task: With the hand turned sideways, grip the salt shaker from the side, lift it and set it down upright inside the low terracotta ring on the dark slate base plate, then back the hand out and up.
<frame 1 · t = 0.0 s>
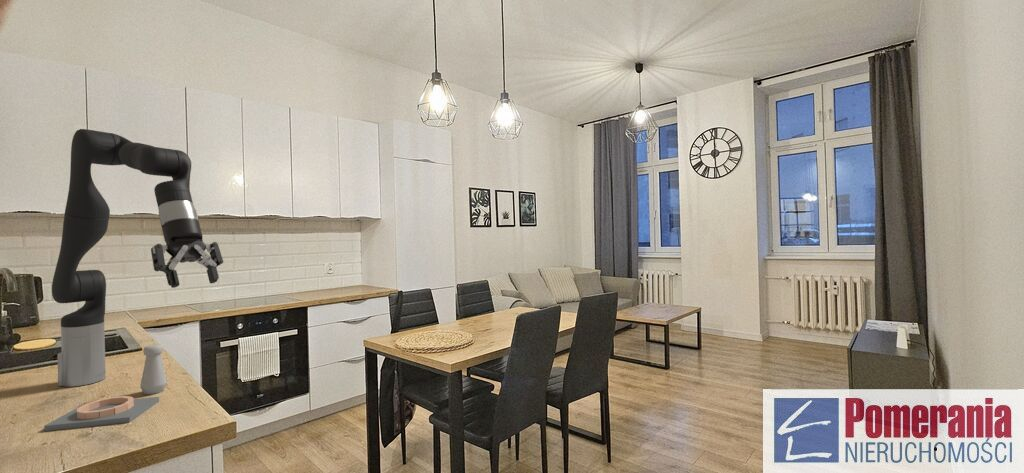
hand: (195, 284, 105), 31 cm above the table, tool tilted 20°, fingers open, 8 cm apart
salt shaker: (154, 392, 121), on the table
holder: (106, 415, 106), on the table
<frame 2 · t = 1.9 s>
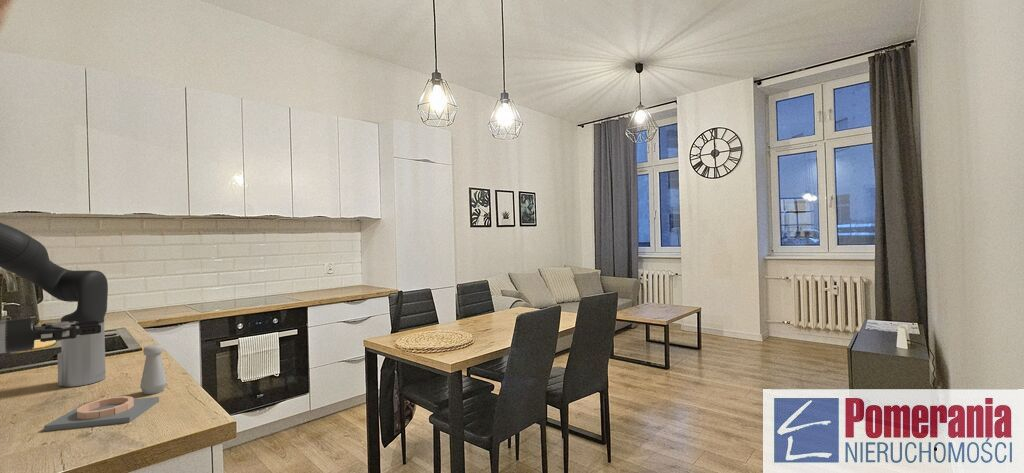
hand: (99, 326, 113), 20 cm above the table, tool horizontal, fingers open, 8 cm apart
nothing on the table moved.
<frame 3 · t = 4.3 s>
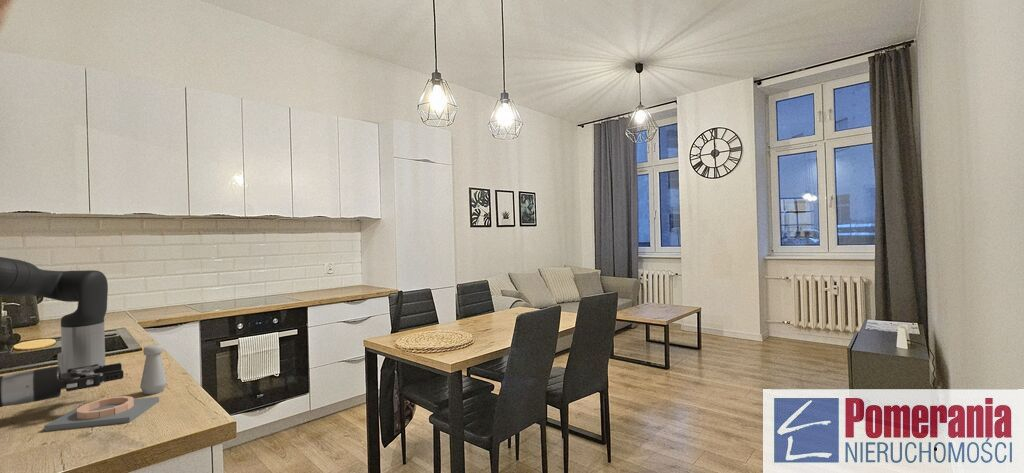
hand: (122, 370, 116), 8 cm above the table, tool horizontal, fingers open, 8 cm apart
nothing on the table moved.
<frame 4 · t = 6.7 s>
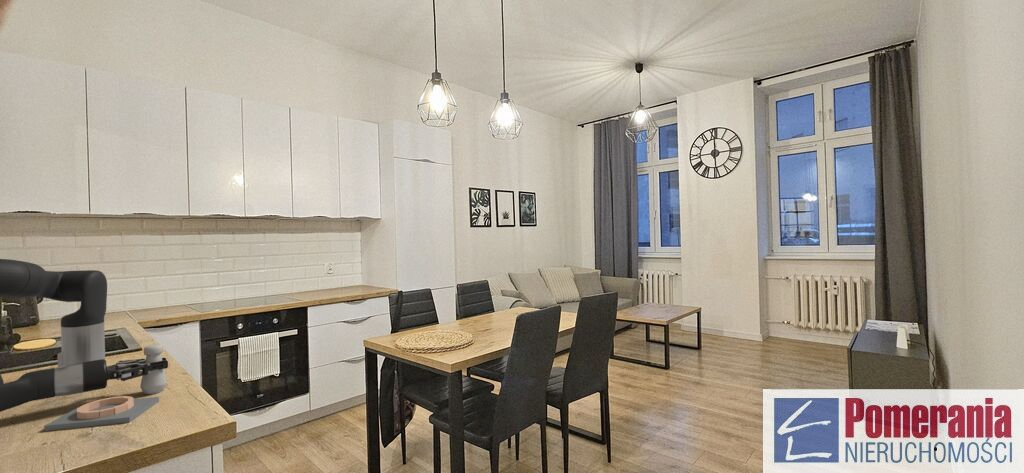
hand: (166, 362, 123), 8 cm above the table, tool horizontal, fingers closed on salt shaker, 3 cm apart
salt shaker: (154, 392, 121), on the table, touching gripper
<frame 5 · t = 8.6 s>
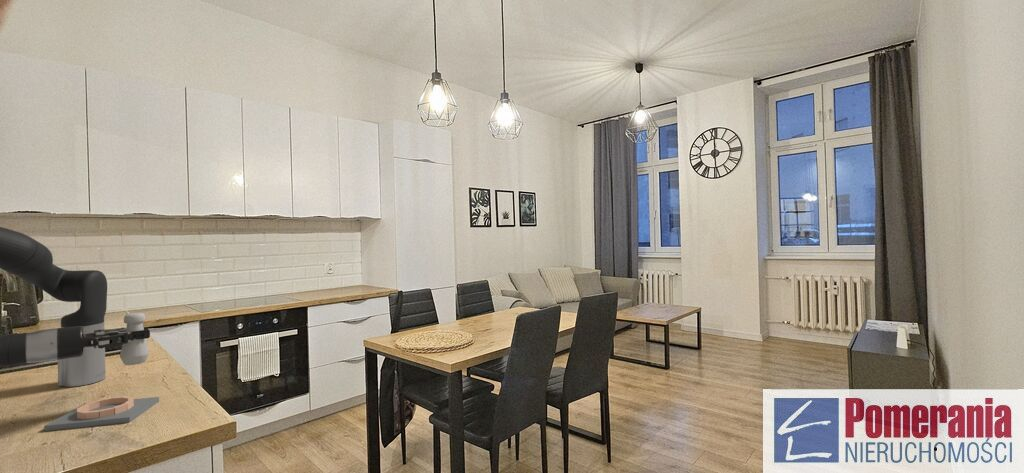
hand: (148, 332, 116), 18 cm above the table, tool horizontal, fingers closed on salt shaker, 3 cm apart
salt shaker: (134, 363, 114), point 10 cm above the table, touching gripper
when the fingers open (9 cm above the table, at t = 11.0 s): salt shaker stays where it is, resting on holder.
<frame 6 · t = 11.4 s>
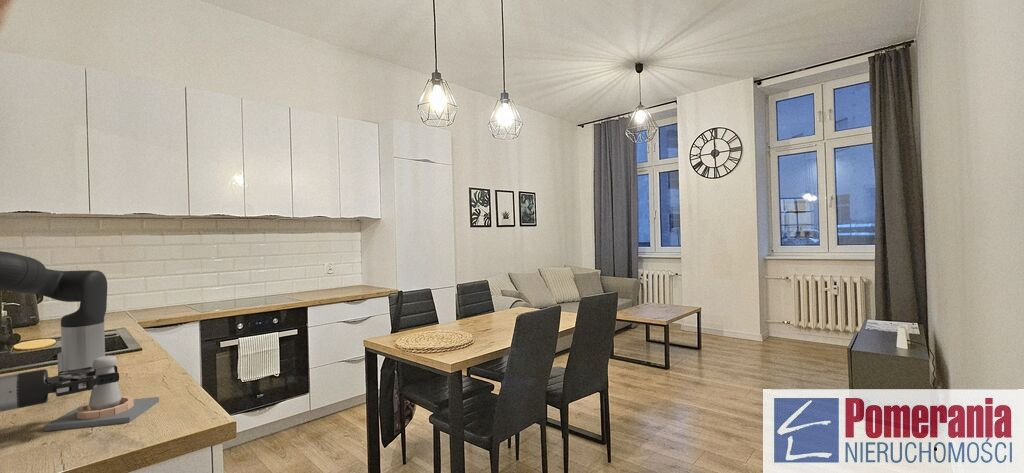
hand: (117, 373, 107), 10 cm above the table, tool horizontal, fingers open, 6 cm apart
salt shaker: (105, 411, 106), point 1 cm above the table, touching holder
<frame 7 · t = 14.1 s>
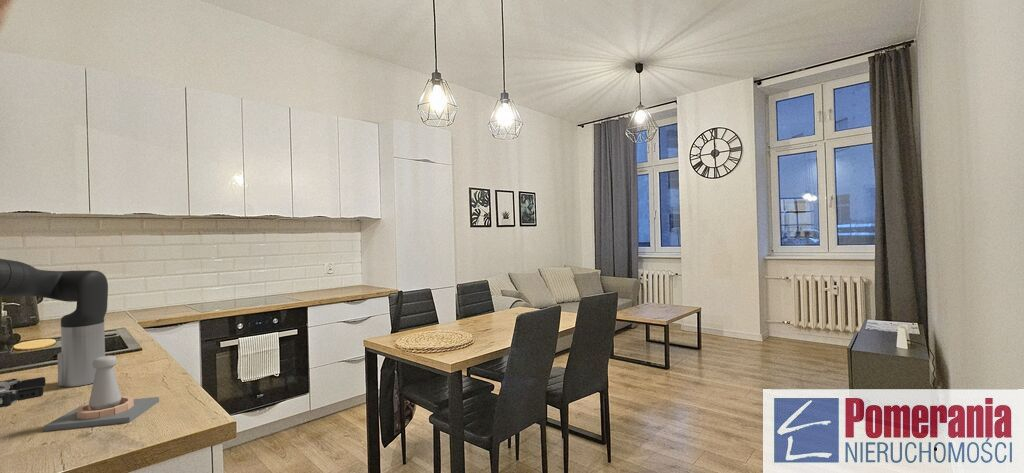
hand: (44, 385, 98), 10 cm above the table, tool horizontal, fingers open, 8 cm apart
nothing on the table moved.
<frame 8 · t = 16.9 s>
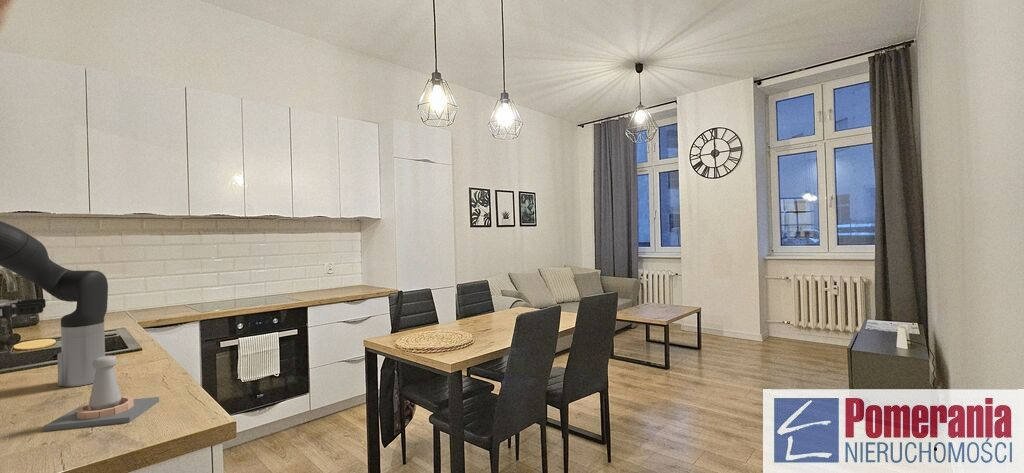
hand: (44, 305, 98), 28 cm above the table, tool horizontal, fingers open, 8 cm apart
nothing on the table moved.
at the end: salt shaker 0.1 cm off-centre on the holder, point 1.0 cm above the holder's base; salt shaker tilted 0°; the gripper is holding nothing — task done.
